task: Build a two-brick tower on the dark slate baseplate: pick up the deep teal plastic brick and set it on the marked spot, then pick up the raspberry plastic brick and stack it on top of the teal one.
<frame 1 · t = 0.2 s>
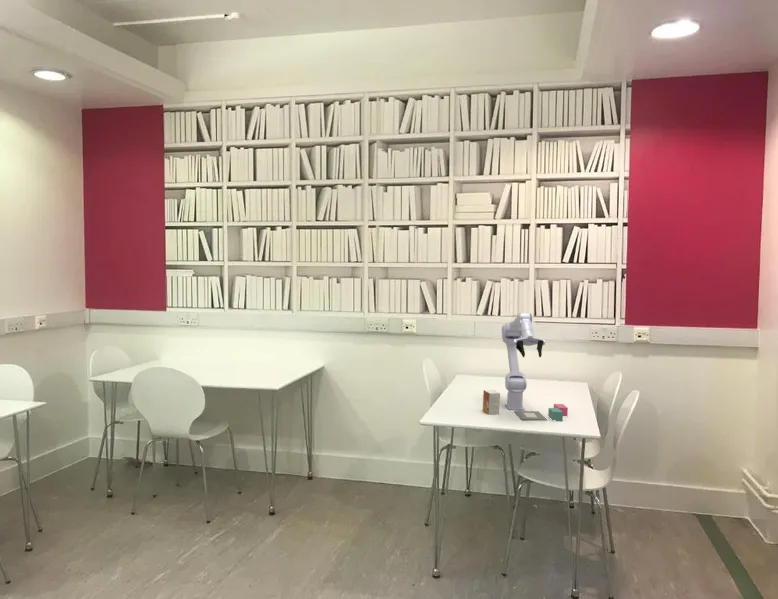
hand: (532, 356, 288), 31 cm above the table, tool tilted 45°, fingers open, 7 cm apart
baseplate: (530, 416, 302), on the table
teal brick: (555, 419, 298), on the table
raspberry brick: (560, 414, 307), on the table
small box: (490, 412, 307), on the table
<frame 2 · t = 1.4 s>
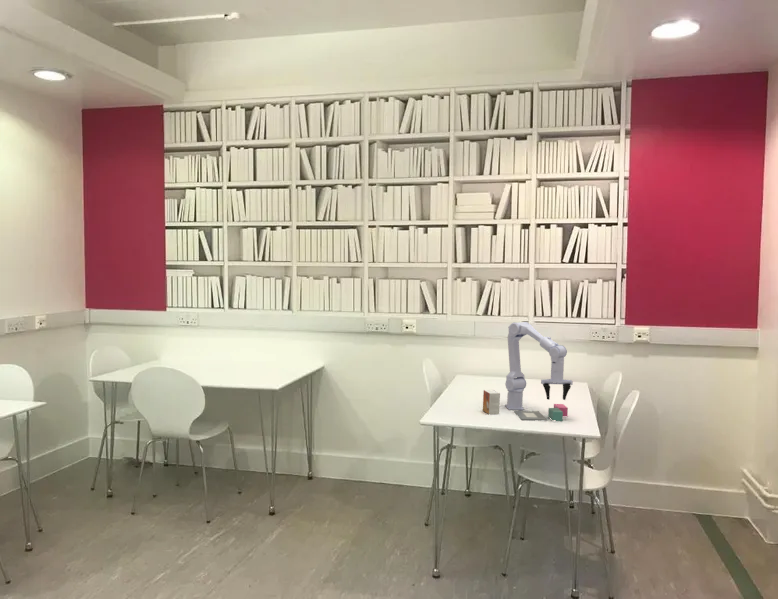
hand: (556, 399, 297), 9 cm above the table, tool pointing down, fingers open, 7 cm apart
nothing on the table moved.
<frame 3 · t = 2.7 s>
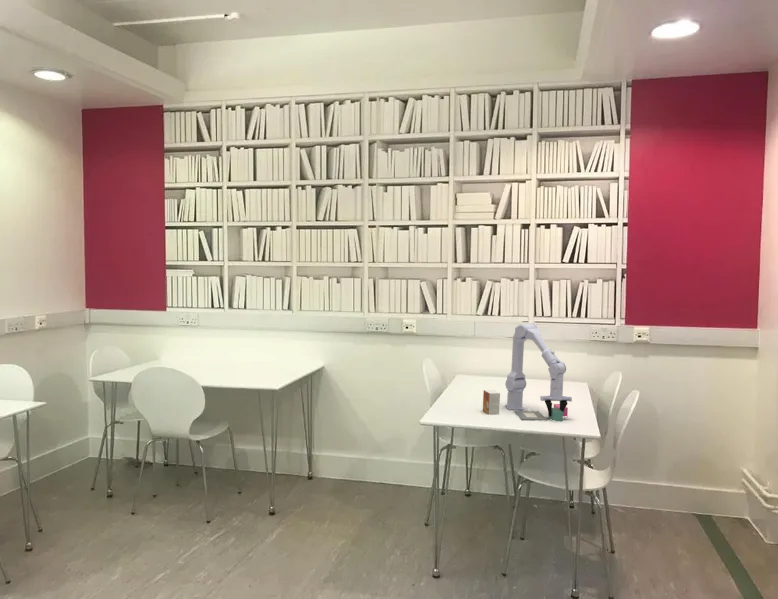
hand: (555, 415, 298), 1 cm above the table, tool pointing down, fingers closed on teal brick, 5 cm apart
teal brick: (555, 418, 298), on the table, touching gripper
everything else where it was.
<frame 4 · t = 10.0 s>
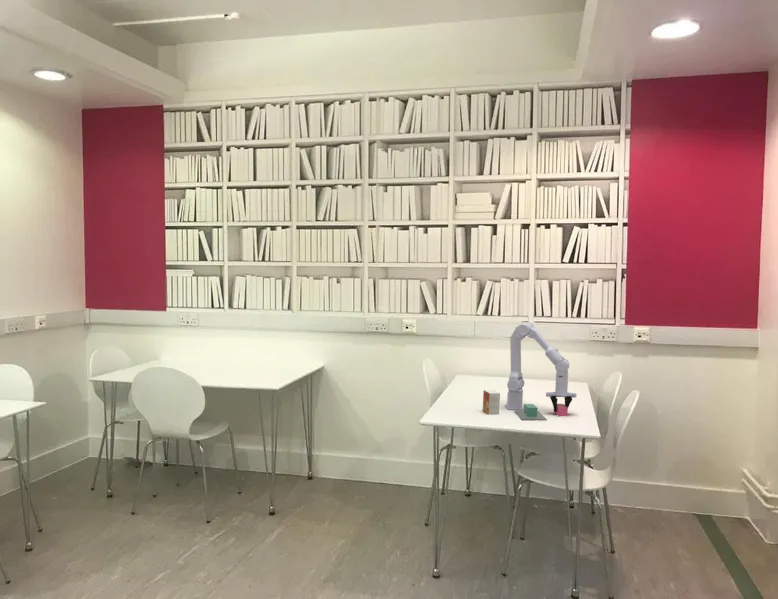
hand: (560, 411, 307), 1 cm above the table, tool pointing down, fingers closed on raspberry brick, 5 cm apart
teal brick: (530, 415, 302), point 1 cm above the table, touching baseplate
raspberry brick: (560, 414, 307), on the table, touching gripper
everything else where it was.
when the fingers open (7 cm above the table, at t = 14.3 s): raspberry brick stays where it is, resting on teal brick.
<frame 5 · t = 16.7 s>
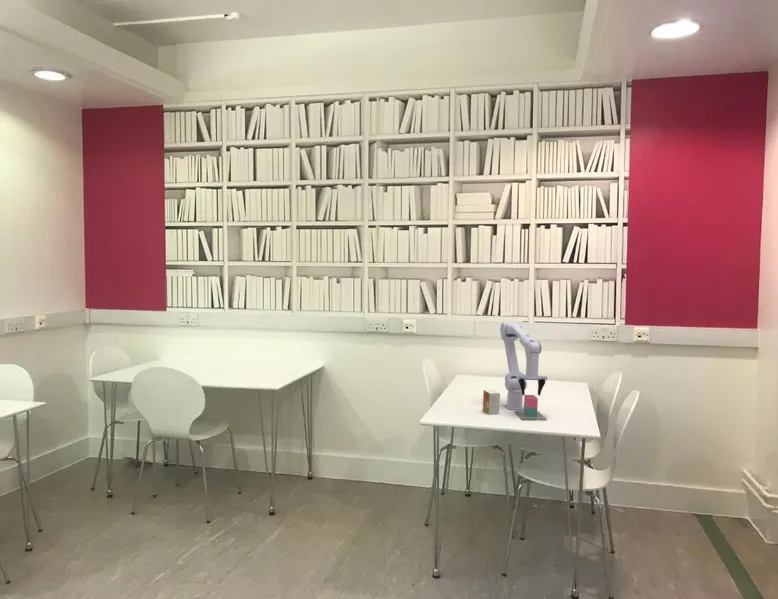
hand: (531, 394, 301), 10 cm above the table, tool pointing down, fingers open, 7 cm apart
teal brick: (530, 415, 302), point 1 cm above the table, touching baseplate, raspberry brick
raspberry brick: (530, 405, 301), point 5 cm above the table, touching teal brick
everything else where it was.
at the end: teal brick 0.0 cm off-centre on the baseplate, point 0.6 cm above the baseplate's base; raspberry brick 0.0 cm off-centre on the teal brick, point 4.5 cm above the teal brick's base; raspberry brick tilted 0° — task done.
